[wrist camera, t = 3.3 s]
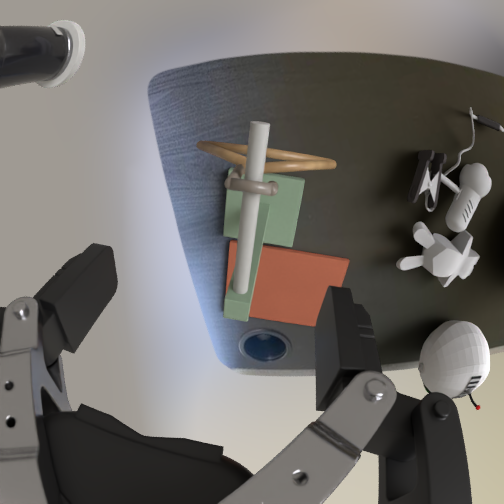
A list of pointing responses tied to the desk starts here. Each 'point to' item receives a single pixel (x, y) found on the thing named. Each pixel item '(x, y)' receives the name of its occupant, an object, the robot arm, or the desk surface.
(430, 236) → the bunny figurine
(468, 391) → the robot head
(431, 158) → the clip-on lamp
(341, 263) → the mat
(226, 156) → the hanger
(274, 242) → the hook stand
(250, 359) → the desk surface
